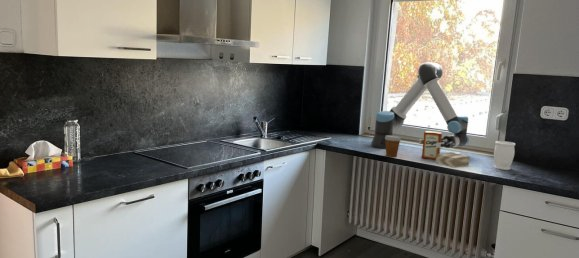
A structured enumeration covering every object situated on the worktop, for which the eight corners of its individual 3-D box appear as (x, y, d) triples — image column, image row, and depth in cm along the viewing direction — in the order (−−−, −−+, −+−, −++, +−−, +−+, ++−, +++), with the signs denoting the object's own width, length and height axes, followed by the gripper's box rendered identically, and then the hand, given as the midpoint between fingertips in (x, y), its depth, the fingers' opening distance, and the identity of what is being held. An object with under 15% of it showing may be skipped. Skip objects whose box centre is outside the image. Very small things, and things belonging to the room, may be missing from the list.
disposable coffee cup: (388, 157, 268) (389, 137, 266) (380, 154, 277) (382, 134, 275) (402, 157, 270) (404, 137, 268) (394, 154, 279) (396, 135, 278)
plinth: (435, 162, 261) (436, 154, 260) (450, 160, 269) (451, 152, 268) (453, 167, 251) (454, 158, 250) (468, 164, 259) (469, 156, 258)
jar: (495, 165, 262) (498, 140, 259) (514, 168, 255) (517, 142, 253) (489, 168, 254) (492, 141, 251) (509, 171, 247) (513, 144, 245)
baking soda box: (421, 157, 271) (424, 131, 269) (423, 155, 277) (426, 130, 274) (438, 159, 267) (440, 133, 265) (439, 158, 273) (442, 132, 271)
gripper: (466, 151, 272) (444, 153, 259) (433, 143, 291) (411, 145, 278) (468, 138, 271) (445, 140, 258) (434, 132, 290) (412, 134, 277)
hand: (428, 143), depth 268 cm, fingers closed on baking soda box, 11 cm apart
